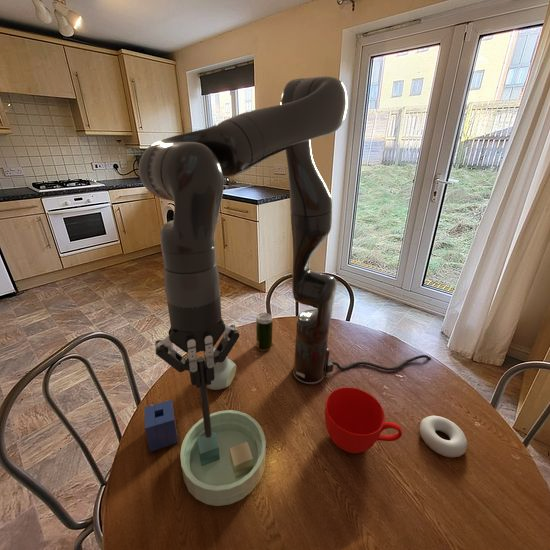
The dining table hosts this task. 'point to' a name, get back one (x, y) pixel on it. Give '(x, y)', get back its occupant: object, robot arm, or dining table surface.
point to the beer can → (264, 331)
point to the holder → (160, 425)
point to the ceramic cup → (356, 420)
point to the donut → (439, 445)
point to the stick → (204, 397)
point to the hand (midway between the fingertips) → (203, 382)
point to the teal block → (208, 449)
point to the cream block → (241, 459)
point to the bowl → (223, 459)
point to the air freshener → (223, 374)
